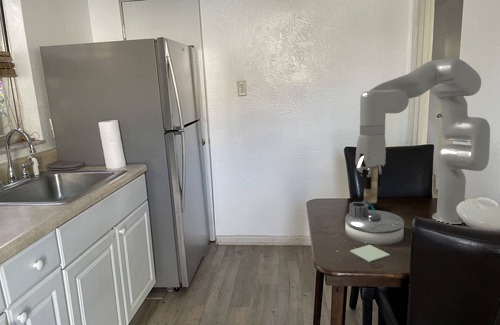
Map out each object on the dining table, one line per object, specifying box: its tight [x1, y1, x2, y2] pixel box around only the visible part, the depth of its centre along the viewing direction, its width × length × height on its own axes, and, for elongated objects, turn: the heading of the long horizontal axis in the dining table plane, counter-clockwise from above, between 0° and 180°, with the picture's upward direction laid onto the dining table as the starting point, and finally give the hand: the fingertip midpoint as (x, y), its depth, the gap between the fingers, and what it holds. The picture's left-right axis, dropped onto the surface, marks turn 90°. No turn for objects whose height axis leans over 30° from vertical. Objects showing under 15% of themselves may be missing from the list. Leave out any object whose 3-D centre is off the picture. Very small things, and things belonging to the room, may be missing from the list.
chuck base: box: [344, 223, 405, 246], centre depth 133 cm, size 21×21×4 cm
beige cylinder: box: [363, 165, 378, 204], centre depth 112 cm, size 4×4×14 cm
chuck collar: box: [345, 201, 405, 233], centre depth 132 cm, size 21×21×6 cm
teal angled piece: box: [361, 200, 376, 210], centre depth 160 cm, size 11×6×10 cm
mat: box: [349, 244, 391, 263], centre depth 117 cm, size 9×9×1 cm
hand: (370, 186), depth 113 cm, fingers closed on beige cylinder, 4 cm apart
